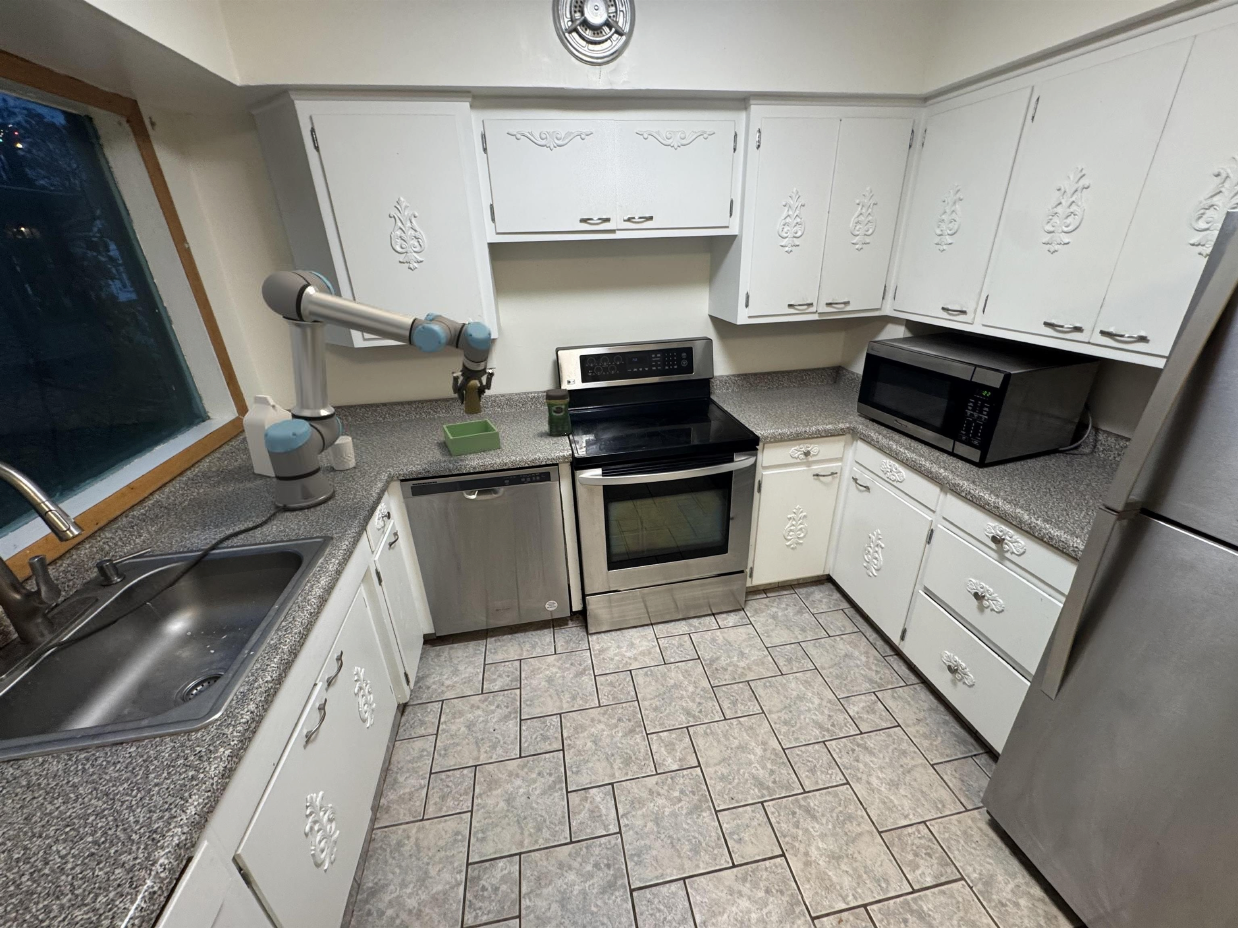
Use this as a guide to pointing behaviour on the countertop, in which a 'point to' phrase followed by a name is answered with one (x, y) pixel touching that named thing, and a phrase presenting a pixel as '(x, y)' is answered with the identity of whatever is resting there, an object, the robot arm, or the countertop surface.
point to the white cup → (342, 453)
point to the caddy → (471, 437)
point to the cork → (472, 399)
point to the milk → (262, 430)
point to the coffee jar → (558, 412)
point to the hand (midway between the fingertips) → (470, 400)
